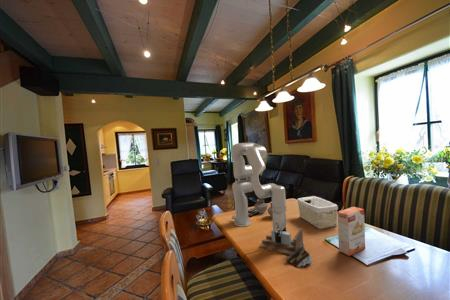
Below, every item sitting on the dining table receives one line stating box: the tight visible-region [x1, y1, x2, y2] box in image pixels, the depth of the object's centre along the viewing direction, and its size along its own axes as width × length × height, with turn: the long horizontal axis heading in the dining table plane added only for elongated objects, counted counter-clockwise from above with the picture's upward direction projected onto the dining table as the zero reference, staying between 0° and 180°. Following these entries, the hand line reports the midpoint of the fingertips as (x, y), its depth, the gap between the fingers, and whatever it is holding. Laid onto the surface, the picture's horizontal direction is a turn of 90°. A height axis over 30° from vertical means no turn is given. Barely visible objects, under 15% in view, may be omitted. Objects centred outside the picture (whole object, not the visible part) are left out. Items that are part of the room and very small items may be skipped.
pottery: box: [253, 198, 273, 220], centre depth 154 cm, size 11×25×12 cm, turn 33°
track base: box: [259, 228, 304, 257], centre depth 107 cm, size 20×14×9 cm
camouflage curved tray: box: [285, 243, 312, 268], centre depth 92 cm, size 10×7×12 cm
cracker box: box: [337, 206, 366, 257], centre depth 98 cm, size 14×6×21 cm, turn 117°
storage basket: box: [296, 195, 339, 229], centre depth 135 cm, size 24×16×15 cm
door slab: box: [270, 229, 292, 246], centre depth 107 cm, size 10×3×7 cm, turn 55°
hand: (281, 238), depth 107 cm, fingers open, 8 cm apart
